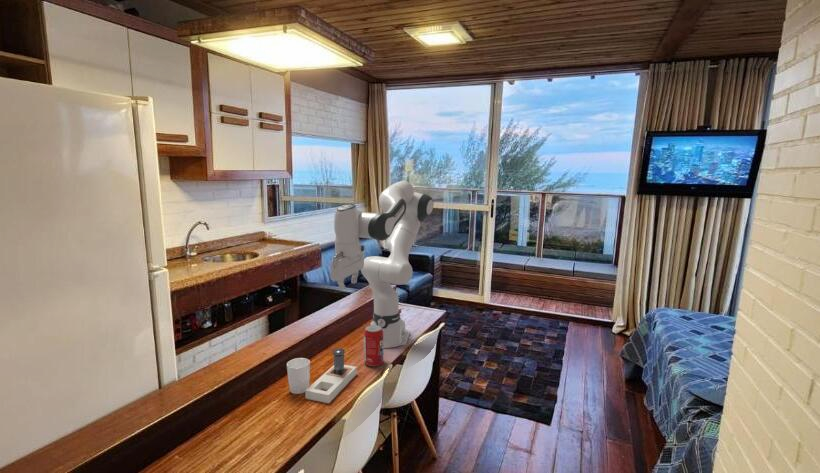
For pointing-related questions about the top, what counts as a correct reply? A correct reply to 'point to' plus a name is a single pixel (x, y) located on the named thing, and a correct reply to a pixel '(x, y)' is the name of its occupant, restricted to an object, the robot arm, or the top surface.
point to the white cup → (298, 375)
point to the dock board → (330, 384)
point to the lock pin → (338, 361)
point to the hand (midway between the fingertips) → (348, 286)
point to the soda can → (373, 345)
